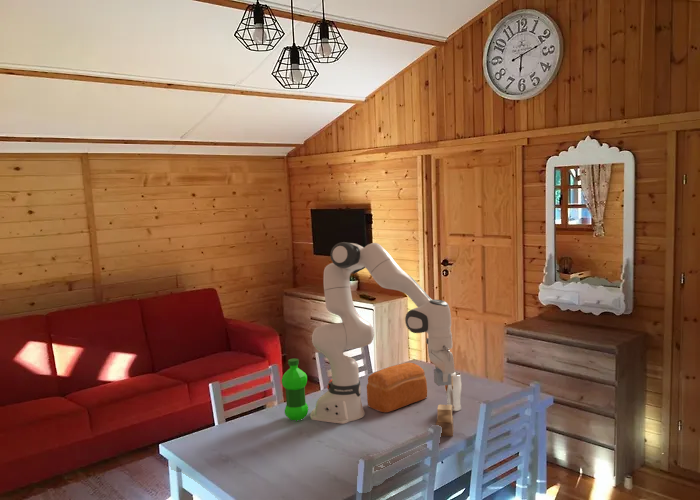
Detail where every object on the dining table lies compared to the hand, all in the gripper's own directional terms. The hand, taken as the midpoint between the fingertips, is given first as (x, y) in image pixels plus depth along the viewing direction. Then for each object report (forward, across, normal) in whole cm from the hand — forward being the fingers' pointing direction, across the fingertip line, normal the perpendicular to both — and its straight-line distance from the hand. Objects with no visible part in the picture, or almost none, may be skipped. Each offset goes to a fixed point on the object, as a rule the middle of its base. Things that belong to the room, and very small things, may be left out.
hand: (442, 379), depth 224 cm
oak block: (+15, -2, 0) cm, 15 cm away
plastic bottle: (+19, +28, +54) cm, 64 cm away
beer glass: (+20, +20, -11) cm, 30 cm away
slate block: (+2, 0, 0) cm, 2 cm away
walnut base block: (+20, -2, 0) cm, 20 cm away
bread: (+19, +34, +10) cm, 40 cm away
